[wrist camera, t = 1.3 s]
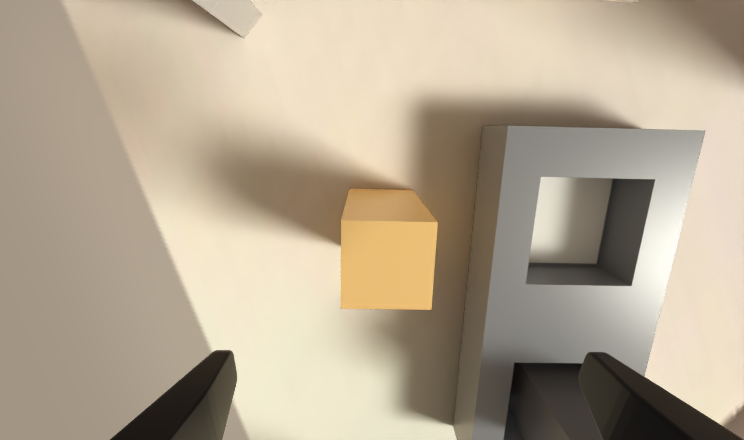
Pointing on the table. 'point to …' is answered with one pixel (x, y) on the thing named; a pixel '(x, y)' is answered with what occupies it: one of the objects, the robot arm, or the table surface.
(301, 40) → the table surface
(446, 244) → the table surface
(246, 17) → the light switch
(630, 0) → the white cube
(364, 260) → the amber plug
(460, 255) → the table surface
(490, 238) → the grey piece
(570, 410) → the dark gray plug
